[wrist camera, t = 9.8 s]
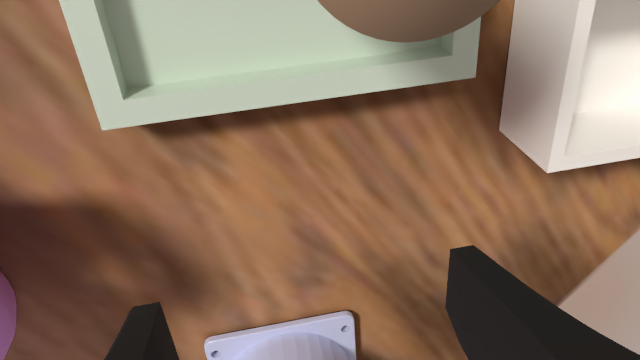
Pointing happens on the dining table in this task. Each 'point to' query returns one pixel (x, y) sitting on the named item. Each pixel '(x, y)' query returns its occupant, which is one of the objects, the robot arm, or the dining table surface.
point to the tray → (241, 57)
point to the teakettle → (6, 315)
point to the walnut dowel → (407, 17)
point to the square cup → (573, 82)
